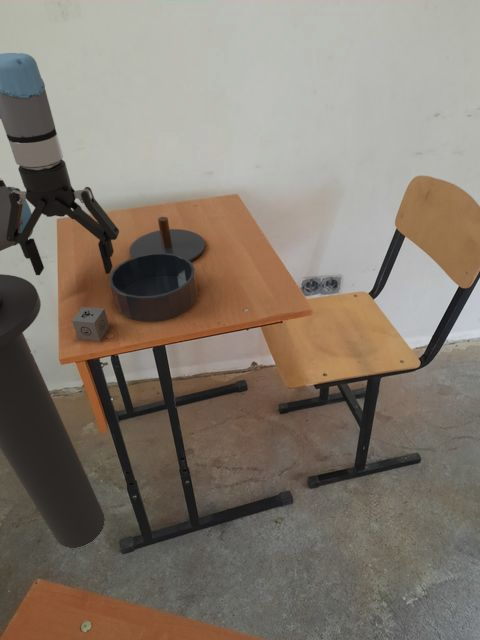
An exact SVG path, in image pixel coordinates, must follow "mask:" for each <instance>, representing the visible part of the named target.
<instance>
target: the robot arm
mask: <svg viewBox="0 0 480 640" xmlns="http://www.w3.org/2000/svg"><path fill="white" fill-rule="evenodd" d="M0 120H1V122H2V127H3V129H4V132H5V134H6V137H7V140H8V143H9V146H10V149H11V152H12V155H13V159H14V162H15V163H16V165H18V169H17V171H18V172H19V176H20V178H21V181H22V184H23V188H25V191H22V190H21V189H20V188H18V187H15V186H7V185H6V183H5V181H4V180H3V178H1V177H0V252H1V251H4V250H6V249H8V248H11V247H15V246H17V245H19V246H20V248H21V252H22V253H23V257H24V258H25V259H27V260H28V259H29V261H30V263H31V267H32V269H33V271H34V275H36V276H41V274H42V273H43V271H44V269H45V266H44V263H43V261H42V257H41V255H40V252H39V249H38V246H37V244H36V240H35V238H30V237H32V235H33V232H34V229H35V227H36V225H37V223H38V222H39V220H40V218H41V216H42V215H44V216H45V217H46V218H52V217H60V218H61V217H64V218H65V216H68V217H69V218H70V219H71V220H74V221H76V222H77V223H78V224H80V225H81V226H82V227H83V228H84V229H86V230H87V231H88V232H89V233H90V234H91V235H93V236H94V237H95V238H96V239H98V240H99V242H98V243H97V245H98V249H99V253H100V256H101V260H102V261H101V262H102V265H103V269H104V272H105V275H111V272H112V270H113V267H114V266H113V262H112V257H113V254H114V251H115V250H114V246H113V243H112V241H116V240H117V238H118V236H119V234H120V229H119V228H118V226H117V225H116V224H115V223H114V221H112V219H111V218H110V217H109V215H108V214H107V213H106V212H105V210H104V209H103V208H102V205H100V203H99V202H98V201H97V200H96V198H95V196H94V193H93V191H92V188H91V187H89V186H85V187H84V188H83V189H79V190H78V189H77V190H75V189H74V188H73V186H72V183H71V179H70V175H69V172H68V168H67V165H66V162H65V160H64V159H63V158H64V154H63V150H62V147H61V143H60V139H59V136H58V133H57V129H56V125H55V120H54V117H53V113H52V110H51V105H50V103H49V98H48V95H47V91H46V85H45V81H44V80H43V78H42V76H41V73H40V69H39V65H38V63H37V61H36V59H35V58H34V57H33V56H32V55H30V54H28V53H23V52H19V53H17V52H4V53H0ZM76 199H78V200H79V201H80V203H81V204H84V207H85V208H86V209H87V211H88V213H90V214H91V216H90V215H89V214H88V213H87V212H86V211H85V210H83V209H82V206H81V205H80V204H79V203H78V202H76ZM29 203H30V204H31V205H32V206H33V207H34V209H33V211H32V210H31V208H30V204H29ZM1 306H2V298H1V296H0V308H1Z"/></svg>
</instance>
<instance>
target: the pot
mask: <svg viewBox="0 0 480 640" xmlns="http://www.w3.org/2000/svg"><path fill="white" fill-rule="evenodd" d="M108 282H109V286H110V290H111V294H112V297H113V301H114V305H115V308H116V310H117V311H118V312H119V313H120V314H121V315H122V316H123V317H125V318H127V319H129V320H131V321H132V320H133V321H136V322H145V323H147V322H149V323H151V322H152V323H153V322H162V321H166V320H170V319H173V318H175V317H178V316H180V315H182V314H184V313H185V312H188V310H189V309H191V308H192V307H193V306H194V305H195V303H196V301H197V299H198V291H199V289H198V282H197V273H196V268H195V266H194V264H193V262H192V261H189V260H187V259H186V258H184V257H182V256H179V255H176V254H169V253H151V254H145V255H140V256H137V257H134V258H132V257H131V258H129V259H126V260H124V261H123V262H121V263H120V264H118V265H117V266H116V267H115V268H114V269H112V270H111V272H110V274H109V277H108Z"/></svg>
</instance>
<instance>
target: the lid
mask: <svg viewBox="0 0 480 640" xmlns="http://www.w3.org/2000/svg"><path fill="white" fill-rule="evenodd" d="M157 222H158V229H159V230H155V231H152V232H149V233H146V234H143V235H142V236H140V237H138V238H136V239H135V240H134V241H133V242H132V243H131V245H130V246H129V254H130V257H131V258H134V257H137V256H140V255H145V254H151V253H169V254H176V255H179V256H182V257H184V258H186V259H187V260H189V261H190V262H192V261H193V260H195V259H197V258H199V256H200V255H202V253H203V252H204V250H205V247H206V246H205V239H204V238H203V237H202V236H201V235H200V234H198V233H196V232H194V231H191V230H187V229H180V228H170V224H169V218H168V217H167V216H160V217H158V218H157Z"/></svg>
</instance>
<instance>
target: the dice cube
mask: <svg viewBox="0 0 480 640" xmlns="http://www.w3.org/2000/svg"><path fill="white" fill-rule="evenodd" d="M71 323H72V325H73V328H74V331H75V334H76V338H77V340H83V341H93V342H101V340H103V338H104V336H105V335H106V333H107V332H108V331H109V330H110V323H109V320H108V317H107V314H106V309H105V308H101V307H91V306H89V307H88V306H81V308H80V310H79V311H78V312H77V313H76V314H75V315H74V317H73V319H72V320H71Z"/></svg>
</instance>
